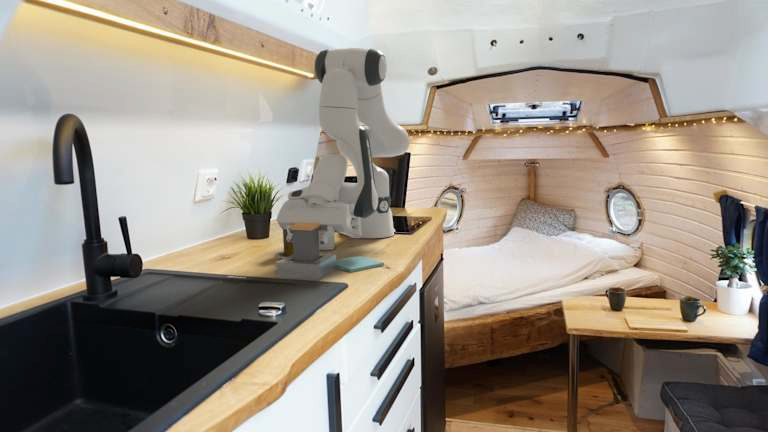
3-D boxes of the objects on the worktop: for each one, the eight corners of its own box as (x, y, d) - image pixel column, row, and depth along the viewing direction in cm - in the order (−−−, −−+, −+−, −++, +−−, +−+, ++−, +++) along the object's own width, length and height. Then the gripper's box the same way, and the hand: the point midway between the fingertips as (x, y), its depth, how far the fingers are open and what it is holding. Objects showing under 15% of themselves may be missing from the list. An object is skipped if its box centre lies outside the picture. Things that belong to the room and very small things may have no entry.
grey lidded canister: (302, 269, 137) (300, 222, 135) (322, 271, 136) (320, 222, 134) (292, 275, 132) (290, 225, 130) (312, 276, 130) (310, 226, 128)
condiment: (307, 256, 153) (305, 216, 151) (278, 259, 150) (277, 218, 149) (302, 251, 160) (301, 213, 158) (275, 254, 157) (273, 215, 155)
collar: (297, 266, 141) (297, 252, 140) (336, 268, 137) (336, 254, 137) (276, 277, 130) (275, 262, 129) (318, 280, 127) (317, 264, 126)
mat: (328, 264, 142) (328, 261, 142) (360, 258, 149) (360, 255, 149) (350, 272, 134) (350, 269, 134) (383, 265, 141) (383, 262, 140)
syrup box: (317, 246, 167) (315, 202, 164) (335, 246, 167) (334, 202, 165) (315, 250, 161) (314, 204, 159) (334, 249, 161) (333, 204, 159)
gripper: (359, 208, 139) (346, 250, 131) (291, 206, 145) (276, 246, 138) (353, 193, 135) (339, 236, 127) (283, 192, 141) (266, 233, 133)
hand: (305, 241), depth 132 cm, fingers open, 8 cm apart
